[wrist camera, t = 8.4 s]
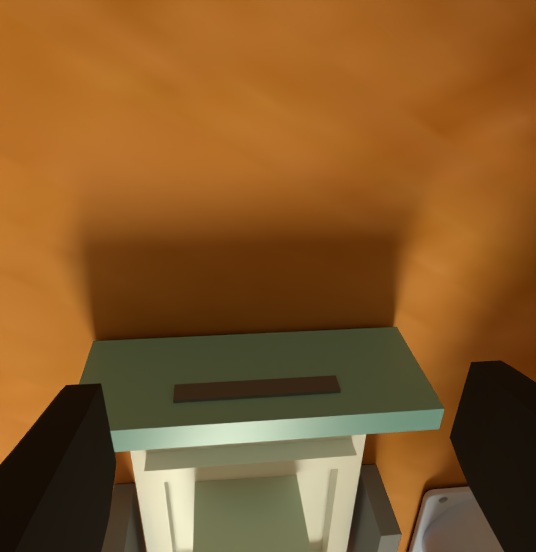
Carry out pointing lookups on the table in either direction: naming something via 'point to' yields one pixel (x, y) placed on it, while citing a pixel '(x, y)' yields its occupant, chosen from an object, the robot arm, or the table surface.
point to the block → (249, 516)
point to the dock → (362, 538)
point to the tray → (257, 417)
